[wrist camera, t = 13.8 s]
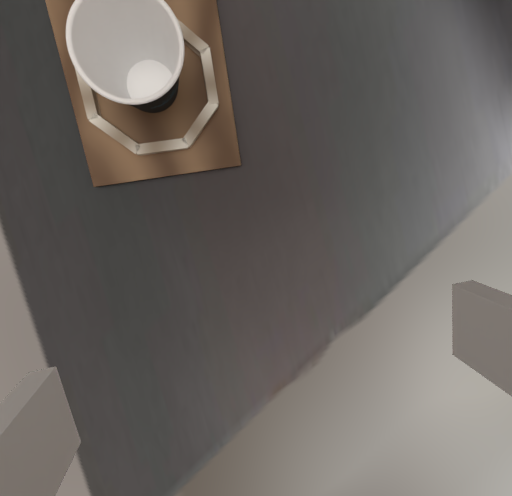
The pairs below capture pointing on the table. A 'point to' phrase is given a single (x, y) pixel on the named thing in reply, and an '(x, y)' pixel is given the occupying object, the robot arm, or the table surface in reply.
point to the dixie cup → (127, 50)
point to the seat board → (162, 123)
